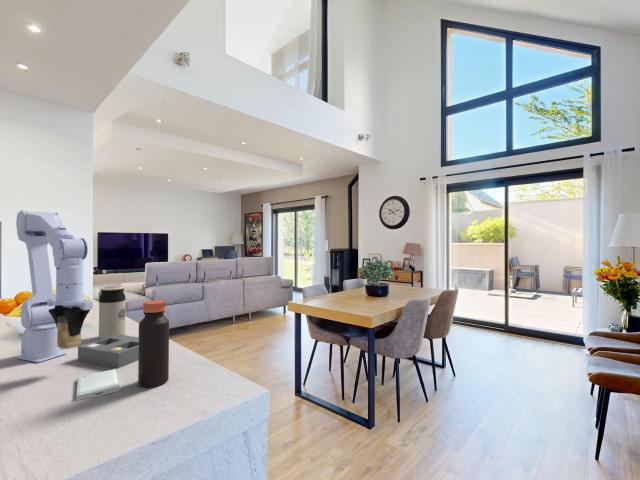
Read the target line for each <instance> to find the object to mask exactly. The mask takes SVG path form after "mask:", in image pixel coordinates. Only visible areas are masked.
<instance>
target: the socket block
mask: <svg viewBox="0 0 640 480" xmlns="http://www.w3.org/2000/svg"><path fill="white" fill-rule="evenodd" d="M138 353H139V336H133V335H126V334H125V335H119V334H118V335H115V336H112V337H108V338H105V339H102V340H101V339H98V340H95V341H93V342H88V343H86V344H82V345H77V361H79V362H85V363H90V364H91V363H92V364H96V365H101V366H106V367H112V368H118V369H119V368H122V367H125V366H126V365H127V366H128V365H129V364H132V363H134V362H137V361H138Z"/></svg>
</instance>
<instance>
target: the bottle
mask: <svg viewBox="0 0 640 480" xmlns="http://www.w3.org/2000/svg"><path fill="white" fill-rule="evenodd" d="M142 305H143V307H142V308H143V309H142V311H143V314H144V317H143V318H142V319H141V320H140V321H139V322H138V337H139V353H138V360H137V361H138V362H137V363H138V365H137V366H138V367H137V368H138V369H137V370H138V373H137V375H138V376H137V377H138V379H137V384H138V386H140V387H142V388H149V389H150V388H154V387H159V386H162V385H164V384H165V383H167V382H168V380H169V371H170V369H169V368H170V363H169V361H170V360H169V359H170V356H169V355H170V321H169V319H168V318H167V316H165V315H164V314H165V312H166V300H163V299H156V300H155V299H154V300H147V301H144V302H143V303H142Z"/></svg>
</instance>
